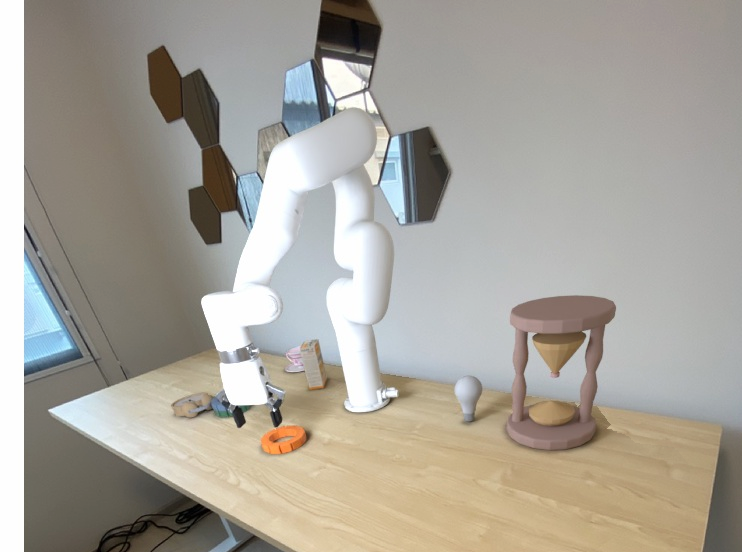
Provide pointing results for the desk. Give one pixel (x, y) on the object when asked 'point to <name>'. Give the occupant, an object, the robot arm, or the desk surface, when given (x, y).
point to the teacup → (294, 360)
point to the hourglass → (557, 367)
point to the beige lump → (192, 404)
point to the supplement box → (313, 364)
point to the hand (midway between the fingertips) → (260, 425)
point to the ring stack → (224, 408)
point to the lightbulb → (468, 395)
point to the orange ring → (286, 445)
